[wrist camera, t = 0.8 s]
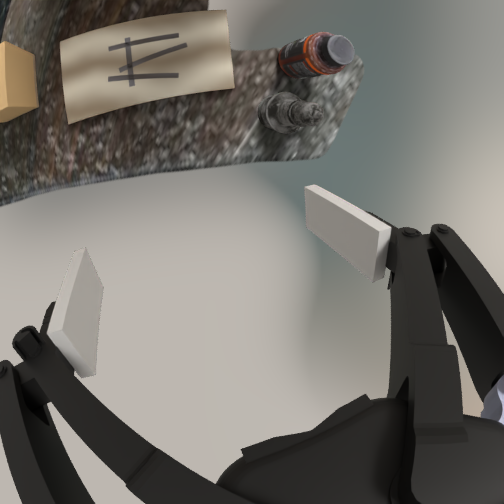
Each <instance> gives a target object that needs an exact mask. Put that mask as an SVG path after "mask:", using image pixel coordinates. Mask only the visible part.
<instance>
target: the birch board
mask: <svg viewBox="0 0 504 504" xmlns="http://www.w3.org/2000/svg"><path fill="white" fill-rule="evenodd" d="M60 54H61V69H62V81H63V90H64V98H65V106H66V113H67V119H68V124H72V123H75V122H78V121H81V120H84V119H87V118H90V117H93V116H96V115H100V114H103V113H107V112H110V111H114V110H117V109H121V108H125V107H129V106H133V105H137V104H141V103H146V102H150V101H155V100H160V99H165V98H170V97H176V96H181V95H187V94H194V93H201V92H208V91H216V90H225V89H233V88H235V86H234V77H233V68H232V59H231V50H230V41H229V31H228V22H227V13H226V10H209V11H194V12H184V13H175V14H167V15H160V16H154V17H148V18H143V19H137V20H133V21H128V22H124V23H119V24H115V25H111V26H107V27H104V28H100V29H97V30H93V31H90V32H87V33H84V34H80V35H77V36H75V37H72V38H69V39H66V40H63V41H61V42H60Z"/></svg>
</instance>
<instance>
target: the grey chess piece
mask: <svg viewBox="0 0 504 504" xmlns="http://www.w3.org/2000/svg"><path fill="white" fill-rule="evenodd" d="M258 116H259V119H260V121H261V123H262V124H263V125H264V126H265V127H267V128H269V129H273V130H275V131H277V132H280V133H284V134H287V133H292V132H295V131H296V130H298V129H299V128H300V127H305V126H307V125H309V126H315V125H318V124H319V123H321V121H322V120H323V117H324V111H323V109H322V107H321V106H320V105H319V104H317V103H314V102H307V101H305V100H302V99H300V98H299V97H298V96H297V95H295V94H293V93H290V92H280V93H277V94H275V95H270V96H267V97H266V98H264V99H263V100H262V102H261V103H260V105H259V108H258Z"/></svg>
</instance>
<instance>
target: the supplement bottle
mask: <svg viewBox="0 0 504 504" xmlns="http://www.w3.org/2000/svg"><path fill="white" fill-rule="evenodd" d="M353 59H354V48H353V46H352V44H351V42H350V41H349V40H348V39H347V38H345V37H344V36H341V35H333V34H330V33H327V32H319V33H315V34H312V35H310V36H307V37H304V38H302V39H299V40H296V41H294V42H291V43H289V44H287V45H285V46H284V47H283V48H282V49H281V51H280V53H279V64H280V67H281V69H282V70H283V71H284V72H285V73H286V74H287V75H289V76H290V77H293V78H298V79H301V78H309V77H315V76H322V75H330V74H335V73H338V72H340V71H341V70H342V69H343V68H344V67H345V66H346V65H348V64H350V63H351V62H352V61H353Z"/></svg>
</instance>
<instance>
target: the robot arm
mask: <svg viewBox="0 0 504 504" xmlns="http://www.w3.org/2000/svg"><path fill="white" fill-rule="evenodd" d="M304 188H305V206H306V207H305V208H306V227H307V228H308V229H309V230H311V231H312V232H313V233H314V234H315V235H317V236H318V237H319V238H320V239H322V240H323V241H324V242H325V243H326V244H328V245H329V246H330V247H331V248H332V249H334V250H335V251H336V252H337V253H338V254H340V255H341V256H342V257H343V258H344V259H346V260H347V261H348V262H349V263H350V264H352V265H353V266H354V267H355V268H356V269H357V270H359V271H360V272H361V273H362V274H363V275H364V276H366V277H367V278H368V279H369V280H370V281H371V282H375V281H377V280H379V279H382V278H383V277H384V275H385V269H386V267H387V268H388V269H389V270H391V273H390V278H389V284H388V289H390V293H391V359H390V378H389V389H388V394H387V398H378V399H373V400H370V399H369V398H368V396H367V395H366V394H364V395H362V396H360V397H359V398H357V399H355V400H353V401H351V402H350V403H348V404H346V405H344V406H342V407H340V408H339V409H337V410H336V411H335V412H334V413H333V414H331V415H330V416H329V417H328V418H326V419H325V420H324V421H323V422H322V423H320V424H319V425H318V426H317V427H316V428H314V429H313V430H311V431H307V432H302V433H297V434H291V435H285V436H279V437H273V438H271V439H268V440H265V441H263V442H260V443H257V444H254V445H252V446H249V447H246V448H242V449H241V451H242V454H243V457H241V458H239V459H238V460H236V461H235V462H234V463H233V464H231V465H230V466H229V467H228V468H227V469H226V470H225V471H224V472H223V474H222V475H221V476H220V478H219V479H218V481H217V483H216V484H214V483H213V482H211V481H209V480H207V479H205V478H204V477H202V476H200V475H199V474H197V473H195V472H194V471H192V470H190V469H189V468H187V467H186V466H184V465H182V464H181V463H179V462H178V461H176V460H175V459H173V458H172V457H170V456H169V455H167V454H166V453H164V452H163V451H161V450H160V449H158V448H156V447H155V446H153V445H152V444H150V443H149V442H148V441H146V440H145V439H144V438H143V437H141V436H140V435H138V434H137V433H136V432H135V431H134V430H132V429H131V428H130V427H129V426H128V425H126V424H125V423H124V422H123V421H122V420H120V419H119V418H118V417H117V416H116V415H115V414H113V413H112V412H111V411H110V410H109V409H108V408H107V407H106V406H104V405H103V404H102V403H101V402H100V401H99V400H98V399H97V398H96V397H95V396H94V395H93V394H92V393H91V392H90V391H89V390H88V389H87V388H86V387H85V386H84V385H83V384H82V383H81V382H80V381H79V380H78V379H77V378H76V377H75V376H74V370H75V371H76V372H77V374H78V375H79V376H80V377H81V378H84V377H89V376H94V375H96V356H97V341H98V330H99V319H100V310H101V302H102V294H103V285H102V283H101V281H100V278H99V277H98V274H97V272H96V270H95V267H94V265H93V263H92V261H91V258H90V256H89V254H88V252H87V249H86V247H85V248H82V249H79V250H77V251H74V253H73V256H72V258H71V261H70V263H69V266H68V269H67V272H66V274H65V277H64V280H63V282H62V285H61V288H60V291H59V294H58V297H57V301H55V302H52V303H51V304H50V306H49V307H48V309H47V310H46V314H45V316H44V318H45V319H43V323H42V324H43V325H42V326H41V329H40V333H38V331H37V330H36V328H35V327H33V326H26V327H24V328H22V329H21V330H20V331H19V332H18V333H17V334H16V335H15V337H14V339H13V342H12V345H13V348H14V349H15V350H16V352H17V353H18V354H19V355H20V356H21V358H22V359H23V360H24V361H23V362H21V363H20V364H18V365H16V366H13V365H12V364H11V362H10V361H8V360H3V361H1V362H0V434H1V439H2V443H3V447H4V450H5V455H6V458H7V462H8V465H9V468H10V471H11V474H12V477H13V480H14V483H15V486H16V489H17V491H18V494H19V497H20V499H21V501H22V504H95V502H94V501H93V500H92V498H91V496H90V494H89V493H88V491H87V489H86V488H85V486H84V484H83V483H82V481H81V479H80V477H79V476H78V474H77V472H76V470H75V468H74V466H73V464H72V462H71V460H70V458H69V456H68V454H67V452H66V450H65V448H64V445H63V443H62V441H61V439H60V436H59V434H58V432H57V429H56V427H55V424H54V422H53V420H52V417H51V414H50V412H49V409H48V406H47V403H49V402H52V404H53V405H54V406H55V407H56V409H57V410H58V412H59V413H60V414H61V415H62V417H63V418H64V419H65V420H66V422H67V423H68V424H69V425H70V426H71V428H72V429H73V430H74V431H75V432H76V434H77V435H78V436H79V437H80V438H81V439H82V440H83V441H84V442H85V444H86V445H87V446H88V447H89V448H90V449H91V450H92V451H93V452H94V453H95V454H96V455H97V456H98V457H99V458H100V459H101V460H102V461H103V462H104V463H105V464H106V465H107V466H108V467H109V468H110V469H111V470H112V471H113V472H114V473H115V474H116V475H117V476H119V477H120V478H121V479H122V480H123V481H124V482H125V483H126V487H127V488H128V489H129V490H130V491H131V492H132V493H133V494H134V495H135V496H137V497H138V498H139V499H140V500H141V501H143V502H144V503H145V504H504V294H503V293H502V291H501V290H500V288H499V287H498V285H497V284H496V283H495V281H494V280H493V278H492V277H491V276H490V274H489V273H488V272H487V271H486V269H485V268H484V267H483V265H482V264H481V263H480V261H479V260H478V259H477V258H476V256H475V255H474V254H473V253H472V252H471V250H470V249H469V248H468V247H467V245H466V244H465V243H464V242H463V241H462V240H461V239H460V237H459V236H458V235H457V234H456V233H455V231H454V230H453V229H451V228H450V227H448V226H447V225H444V224H434V225H432V227H431V232H430V234H424V235H422V234H421V232H419V231H418V230H416V229H414V228H409V227H403V228H399V229H398V228H396V227H394V226H393V225H391V224H390V223H388V222H386V221H385V220H384V221H383V219H381V218H378V216H376V215H374V214H373V213H370V212H367V211H364V210H361V209H359V208H358V207H356V206H354V205H352V204H350V203H349V202H347V201H345V200H343V199H341V198H340V197H338V196H336V195H334V194H332V193H330V192H329V191H326V190H325V189H323V188H321V187H319V186H317V185H311V186H306V187H304ZM442 311H443V313H444V315H445V317H446V319H447V321H448V323H449V325H450V327H451V330H452V332H453V334H454V336H455V339H456V341H457V343H458V345H459V348H460V350H461V353H462V355H463V357H464V360H465V363H466V365H467V368H468V370H469V373H470V376H471V378H472V381H473V383H474V386H475V388H476V391H477V392H478V394H479V396H480V398H481V400H482V402H483V403H484V409H483V411H482V412H481V418H480V417H475V416H470V415H465V414H463V406H462V391H461V380H460V372H459V364H458V356H457V351H456V347H455V346H454V345H448V344H447V338H446V331H445V326H444V320H443V314H442Z"/></svg>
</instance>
